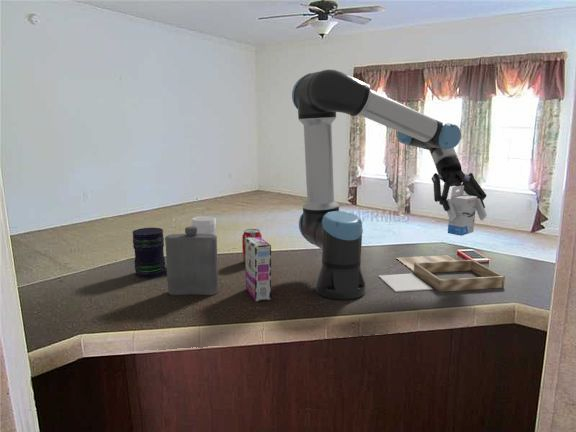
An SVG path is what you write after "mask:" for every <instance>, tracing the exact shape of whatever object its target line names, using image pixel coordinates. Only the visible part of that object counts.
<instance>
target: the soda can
mask: <svg viewBox="0 0 576 432" xmlns="http://www.w3.org/2000/svg"><path fill="white" fill-rule="evenodd" d="M251 237H261V238H262V239H263V236H262V234H261V230H260V229H258V228H247V229H244V230H243V234H242V237H241V238H242V239H241V240H242V244H241V247H242V261H243V263H245V264H246V261H245V238H251Z"/></svg>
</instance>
